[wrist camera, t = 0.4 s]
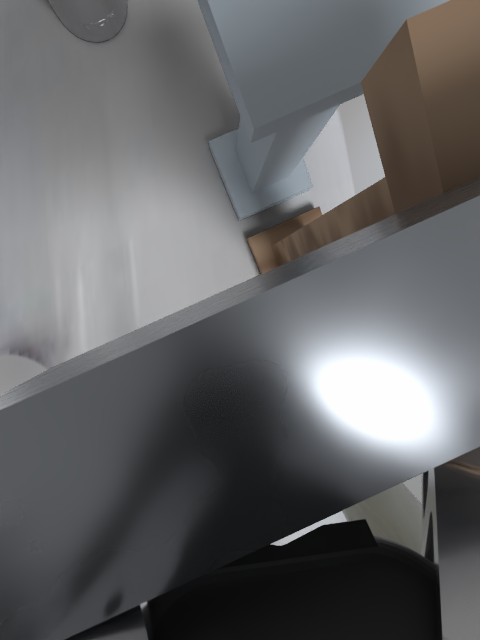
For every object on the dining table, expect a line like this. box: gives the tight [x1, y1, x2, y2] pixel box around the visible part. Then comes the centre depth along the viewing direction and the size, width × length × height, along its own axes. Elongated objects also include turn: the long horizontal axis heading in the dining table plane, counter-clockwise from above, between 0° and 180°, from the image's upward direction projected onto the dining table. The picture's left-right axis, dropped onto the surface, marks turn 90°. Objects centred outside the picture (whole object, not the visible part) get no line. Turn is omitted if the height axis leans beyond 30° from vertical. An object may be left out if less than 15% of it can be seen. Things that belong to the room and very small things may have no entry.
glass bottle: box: [342, 483, 422, 554], centre depth 31 cm, size 10×10×28 cm
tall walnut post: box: [247, 0, 480, 274], centre depth 21 cm, size 11×14×32 cm
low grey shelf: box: [198, 0, 450, 221], centre depth 23 cm, size 11×14×22 cm
